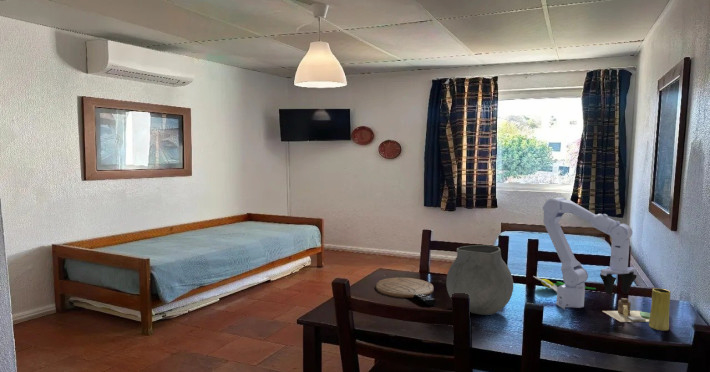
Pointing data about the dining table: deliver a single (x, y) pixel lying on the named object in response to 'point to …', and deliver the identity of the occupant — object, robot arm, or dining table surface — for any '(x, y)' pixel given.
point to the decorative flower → (554, 284)
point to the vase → (660, 309)
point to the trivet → (404, 287)
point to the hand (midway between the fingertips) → (617, 293)
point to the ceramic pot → (481, 278)
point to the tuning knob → (624, 306)
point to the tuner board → (630, 316)
